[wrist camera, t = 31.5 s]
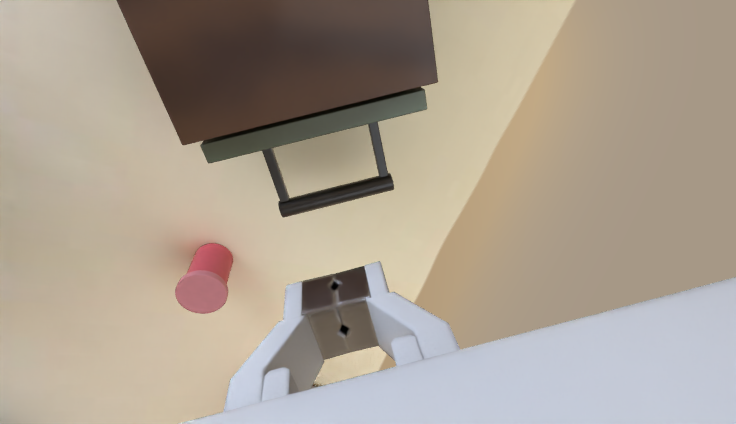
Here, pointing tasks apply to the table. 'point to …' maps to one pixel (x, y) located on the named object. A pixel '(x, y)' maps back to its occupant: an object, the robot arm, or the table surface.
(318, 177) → the table surface
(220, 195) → the table surface
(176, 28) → the cabinet
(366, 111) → the drawer
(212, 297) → the red short cylinder
